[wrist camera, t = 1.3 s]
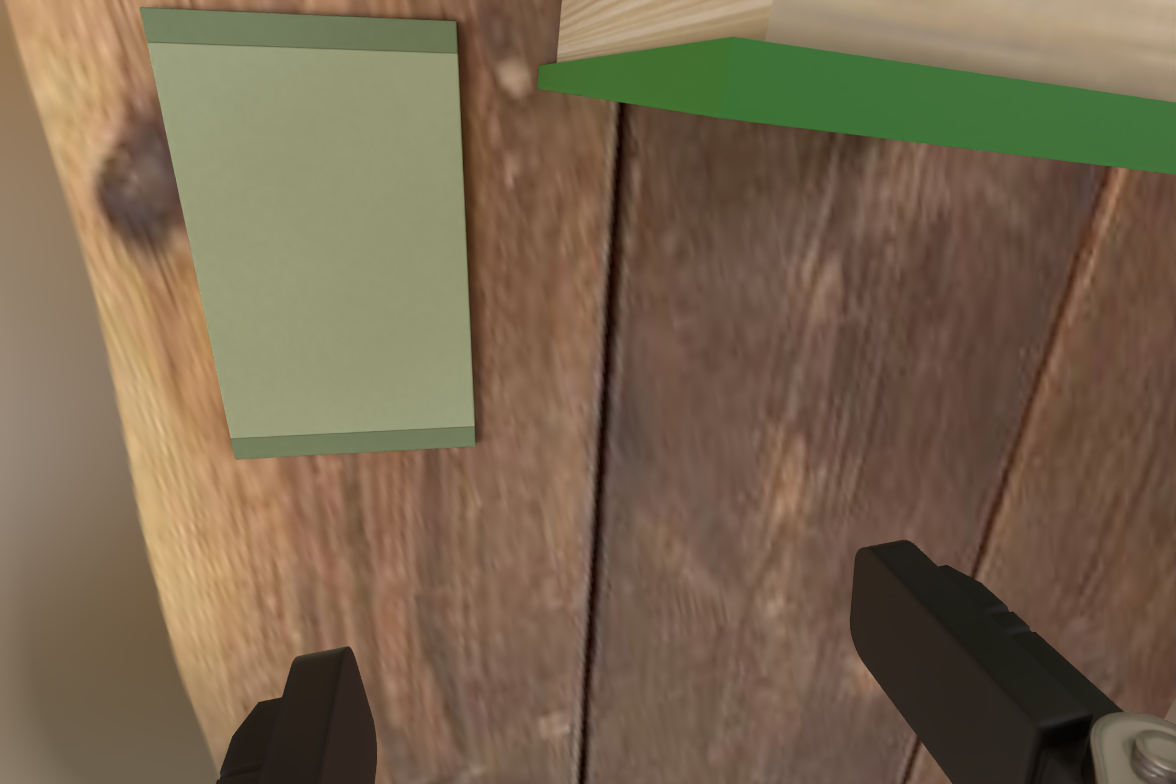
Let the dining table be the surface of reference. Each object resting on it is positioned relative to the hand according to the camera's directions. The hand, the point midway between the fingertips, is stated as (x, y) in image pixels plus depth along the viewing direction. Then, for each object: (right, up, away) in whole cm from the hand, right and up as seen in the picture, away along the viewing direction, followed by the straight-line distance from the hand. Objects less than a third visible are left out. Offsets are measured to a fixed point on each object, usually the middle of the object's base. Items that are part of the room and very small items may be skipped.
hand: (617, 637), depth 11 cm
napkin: (-12, +10, +21) cm, 26 cm away
